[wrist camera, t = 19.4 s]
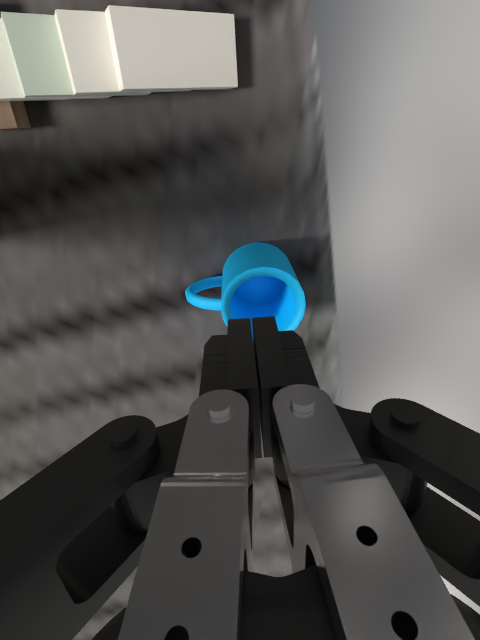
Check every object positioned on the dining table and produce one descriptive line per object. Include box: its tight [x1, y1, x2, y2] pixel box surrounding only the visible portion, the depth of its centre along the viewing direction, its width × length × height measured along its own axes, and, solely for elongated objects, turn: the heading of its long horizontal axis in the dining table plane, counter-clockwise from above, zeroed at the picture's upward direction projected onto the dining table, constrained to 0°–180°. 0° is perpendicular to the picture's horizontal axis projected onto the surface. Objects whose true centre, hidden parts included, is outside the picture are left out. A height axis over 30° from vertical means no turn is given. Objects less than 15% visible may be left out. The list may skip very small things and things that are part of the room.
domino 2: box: [1, 12, 151, 98], centre depth 29 cm, size 2×5×10 cm
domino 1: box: [0, 18, 111, 101], centre depth 29 cm, size 2×5×10 cm
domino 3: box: [54, 9, 191, 95], centre depth 29 cm, size 2×5×10 cm
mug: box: [185, 242, 306, 338], centre depth 38 cm, size 12×8×8 cm
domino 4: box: [105, 5, 238, 91], centre depth 29 cm, size 2×5×10 cm
